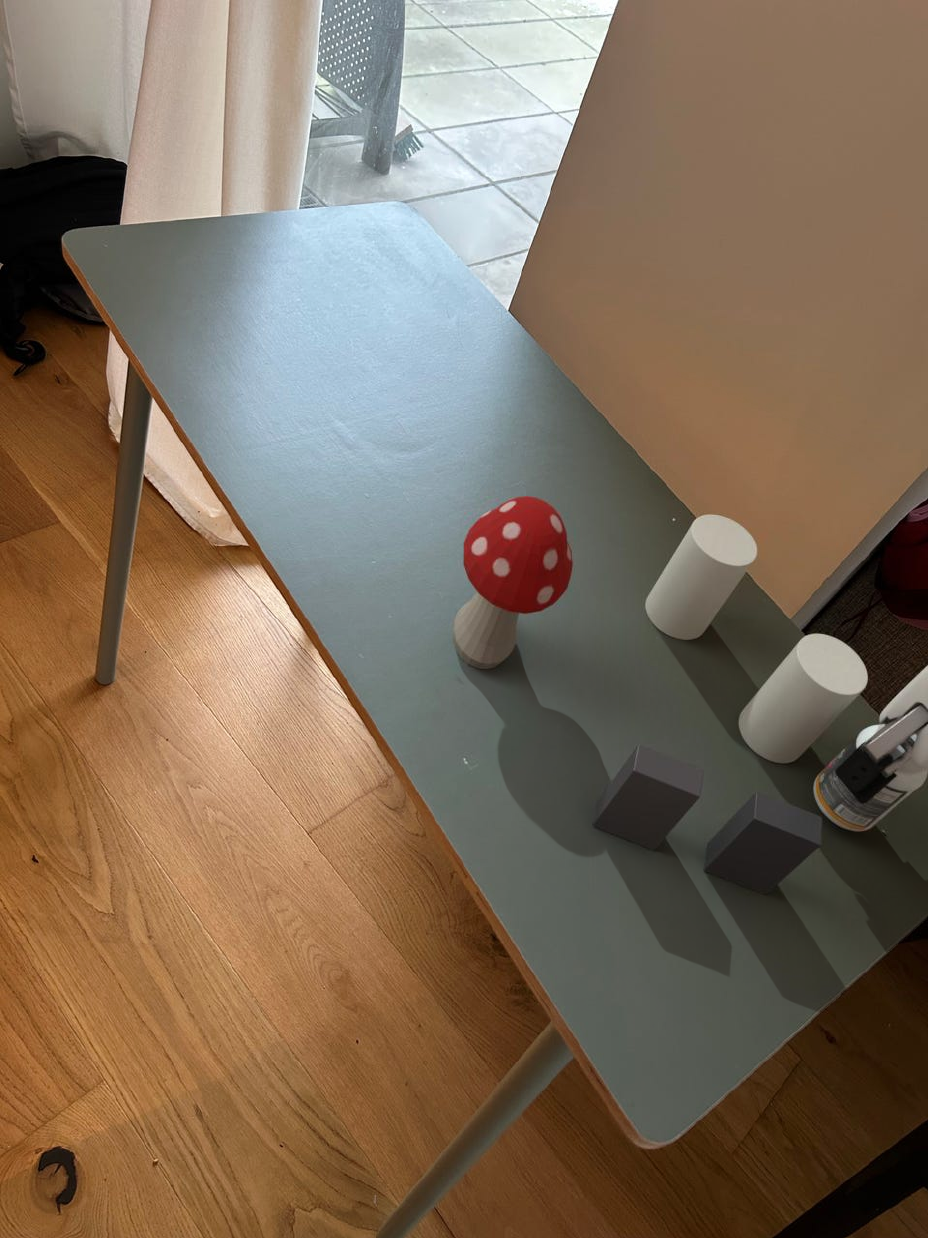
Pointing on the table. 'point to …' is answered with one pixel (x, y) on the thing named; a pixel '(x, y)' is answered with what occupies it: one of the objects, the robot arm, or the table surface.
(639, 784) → the dark grey rectangular block
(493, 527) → the decorative mushroom
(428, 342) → the table surface
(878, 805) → the pill bottle
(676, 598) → the white cylinder
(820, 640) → the white cylinder
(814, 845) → the dark grey block
